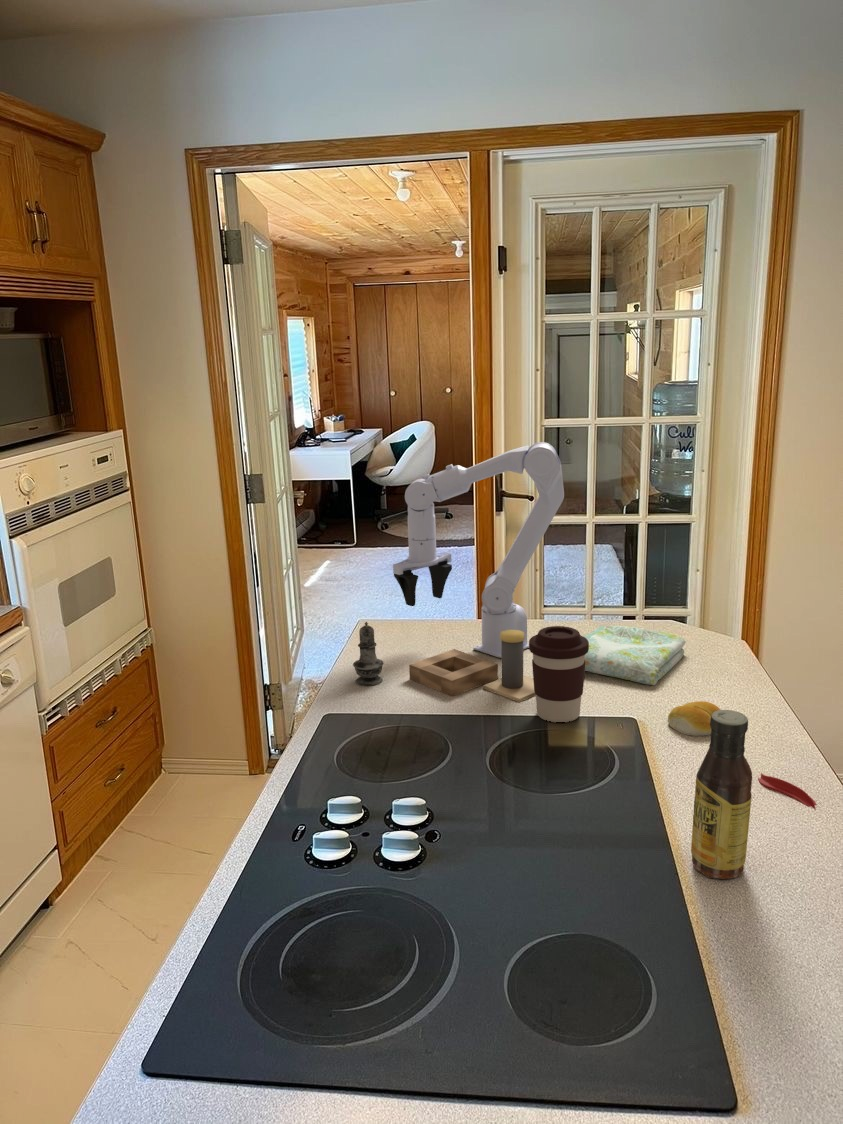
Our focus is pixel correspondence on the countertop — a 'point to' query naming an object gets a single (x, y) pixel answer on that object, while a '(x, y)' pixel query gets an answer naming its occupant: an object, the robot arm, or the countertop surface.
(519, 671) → the plug
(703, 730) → the bread roll
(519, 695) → the coaster
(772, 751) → the countertop surface
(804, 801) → the cayenne pepper
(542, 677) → the coffee cup
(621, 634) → the towel
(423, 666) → the wooden square frame
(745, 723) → the sauce bottle
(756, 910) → the countertop surface
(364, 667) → the salt shaker
